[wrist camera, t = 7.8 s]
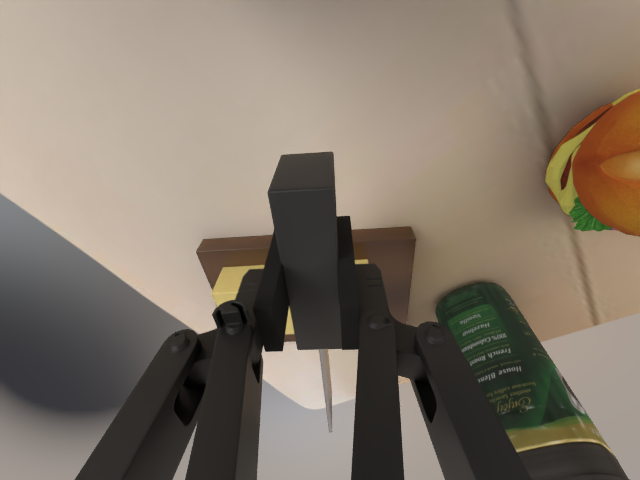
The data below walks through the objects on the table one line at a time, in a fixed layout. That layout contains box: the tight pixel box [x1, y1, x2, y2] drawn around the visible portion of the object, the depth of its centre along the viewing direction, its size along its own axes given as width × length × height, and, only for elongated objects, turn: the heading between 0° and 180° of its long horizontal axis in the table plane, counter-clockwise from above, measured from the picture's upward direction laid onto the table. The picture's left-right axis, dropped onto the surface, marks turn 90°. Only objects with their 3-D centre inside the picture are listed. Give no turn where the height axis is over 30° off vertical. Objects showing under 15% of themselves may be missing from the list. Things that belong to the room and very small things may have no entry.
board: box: [196, 226, 416, 342], centre depth 31 cm, size 14×20×2 cm
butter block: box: [211, 265, 294, 334], centre depth 28 cm, size 6×10×4 cm, turn 95°
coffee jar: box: [436, 282, 629, 480], centre depth 26 cm, size 10×8×19 cm
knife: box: [268, 152, 342, 432], centre depth 19 cm, size 22×3×4 cm, turn 4°
